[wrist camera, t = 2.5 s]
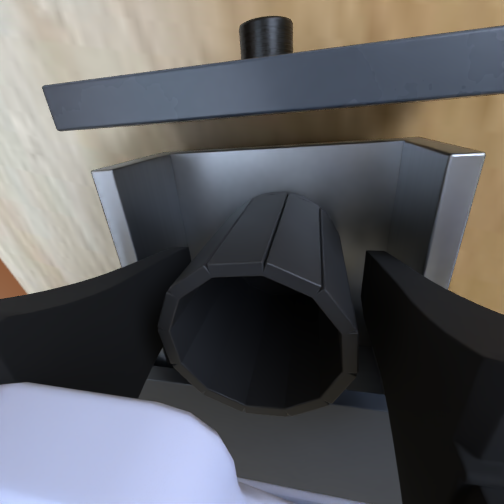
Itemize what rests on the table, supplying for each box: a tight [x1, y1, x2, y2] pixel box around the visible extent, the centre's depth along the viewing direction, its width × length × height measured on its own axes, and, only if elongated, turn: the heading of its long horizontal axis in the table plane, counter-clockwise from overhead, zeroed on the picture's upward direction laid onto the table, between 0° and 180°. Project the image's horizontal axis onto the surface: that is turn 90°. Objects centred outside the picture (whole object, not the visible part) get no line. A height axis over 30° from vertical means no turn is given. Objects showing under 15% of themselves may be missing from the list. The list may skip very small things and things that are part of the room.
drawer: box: [42, 16, 504, 394], centre depth 11 cm, size 15×12×5 cm
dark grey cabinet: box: [138, 366, 402, 504], centre depth 17 cm, size 14×13×7 cm
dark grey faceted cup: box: [157, 192, 359, 417], centre depth 10 cm, size 5×5×6 cm
